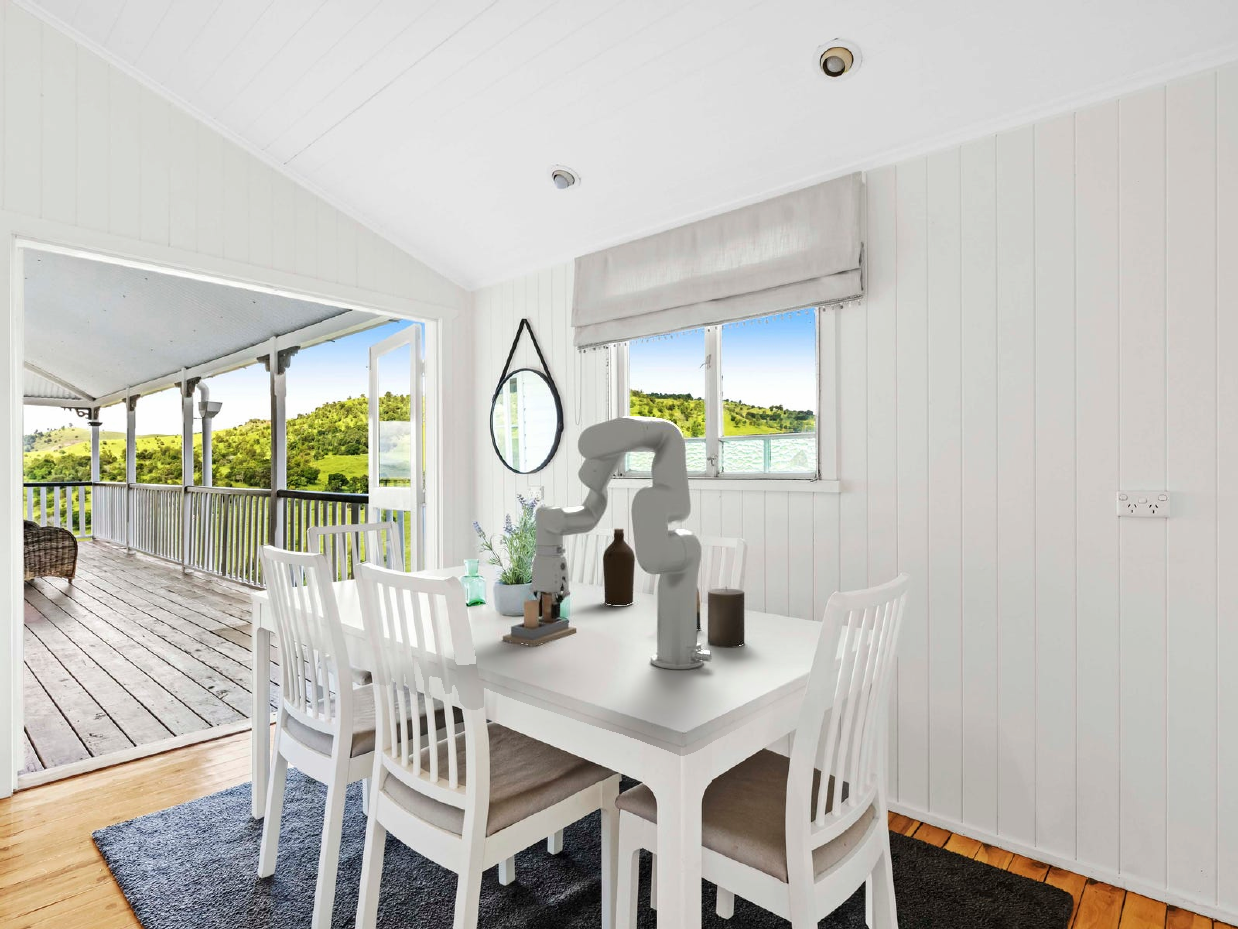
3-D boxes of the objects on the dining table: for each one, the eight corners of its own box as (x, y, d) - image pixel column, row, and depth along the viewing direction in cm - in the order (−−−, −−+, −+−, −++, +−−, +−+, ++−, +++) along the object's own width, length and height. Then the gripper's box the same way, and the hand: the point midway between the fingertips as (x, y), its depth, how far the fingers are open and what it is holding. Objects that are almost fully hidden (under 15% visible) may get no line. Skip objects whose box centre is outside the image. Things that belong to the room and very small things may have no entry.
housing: (576, 632, 199) (576, 596, 199) (534, 646, 184) (534, 607, 184) (545, 627, 205) (545, 591, 205) (502, 640, 190) (502, 602, 190)
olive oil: (633, 607, 232) (633, 530, 232) (601, 607, 233) (601, 530, 233) (635, 601, 243) (635, 527, 243) (604, 600, 244) (604, 527, 244)
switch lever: (559, 626, 198) (559, 593, 198) (550, 628, 195) (550, 596, 195) (548, 624, 201) (548, 592, 201) (539, 627, 197) (539, 594, 197)
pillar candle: (743, 648, 182) (744, 590, 182) (705, 646, 184) (706, 588, 184) (744, 639, 192) (745, 584, 192) (708, 637, 194) (709, 582, 194)
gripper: (581, 551, 196) (581, 618, 196) (535, 547, 205) (535, 611, 206) (564, 554, 190) (564, 623, 190) (517, 550, 199) (517, 615, 199)
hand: (549, 616), depth 198 cm, fingers closed on switch lever, 3 cm apart
